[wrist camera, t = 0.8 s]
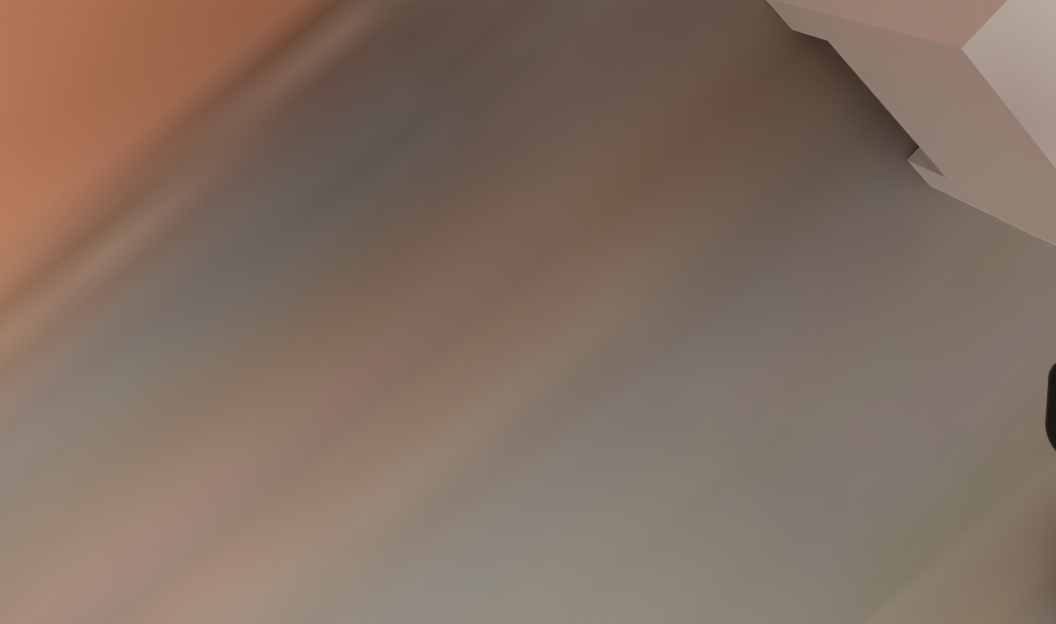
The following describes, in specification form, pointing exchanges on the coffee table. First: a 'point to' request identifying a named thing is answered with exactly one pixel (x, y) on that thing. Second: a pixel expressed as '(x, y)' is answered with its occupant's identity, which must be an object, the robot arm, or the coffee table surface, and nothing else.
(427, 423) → the coffee table surface
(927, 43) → the block
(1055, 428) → the robot arm
